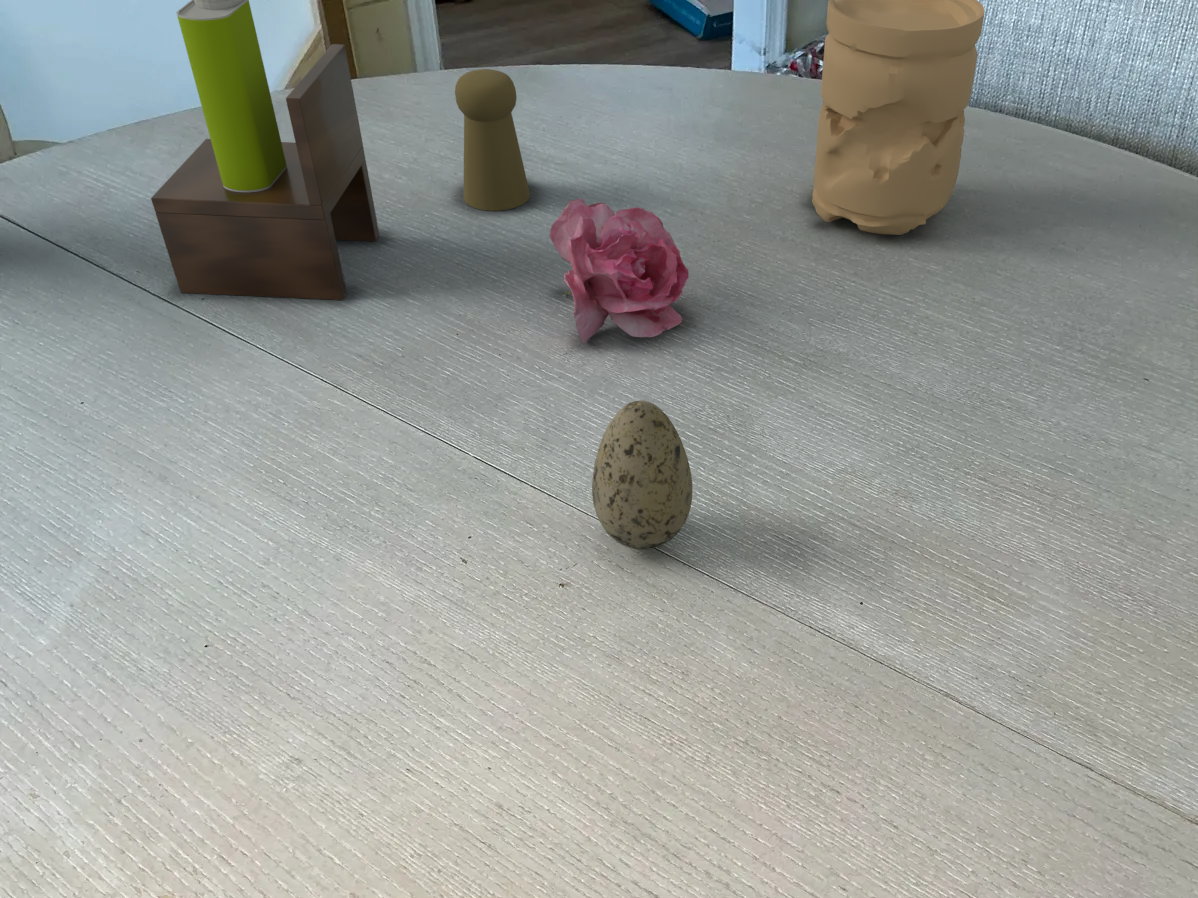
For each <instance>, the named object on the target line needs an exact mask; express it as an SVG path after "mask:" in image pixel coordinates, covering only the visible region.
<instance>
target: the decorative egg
mask: <svg viewBox="0 0 1198 898" xmlns="http://www.w3.org/2000/svg"><path fill="white" fill-rule="evenodd" d="M691 471H692V470H691V466H690V462H689V459H688V456H687V452H686V449H685V447H684V444H683V442H682V439H681V436H680V435H679V432H678V431H677V428H676V427H675V425H674V424H673V422H672V421H671V419H670V418H669V416H668V415H667V414H666V413H665V412H664V410H663V409H661V408H660V407H659V406H658V405H656V404H655V403H652V402H650V401H647V400H634V401H632V402H629V403H627V404H626V405H624V406H623V407H621V408H620V409H619V410H618V411H617V413H616V414H615V415H614V416H613V418H612V419H611V421H610V422H609V424H608V425H607V427H606V429H605V431H604V433H603V435H602V438H601V441H600V444H599V447H598V449H597V452H596V456H595V461H594V466H593V471H592V480H591V481H592V482H591V493H592V494H591V495H592V502H593V507H594V511H595V514H596V517H597V519H598V522H599V523H600V526H601V527H602V528H603V530H604V531H605V532H606V533H607V534H608V536H610V537H611V538H612V539H613V540H615V541H616V542H617V543H619V544H620V545H622V546H625V547H627V548H630V549H633V550H652V549H656V548H659V547H662V546H663V545H665V544H667V543H668V542H670V541H671V540H672V539H674V537H676V536H677V535H678V534H679V533H680V531H681V530H682V528H683V527H684V525H685V524H686V522H687V520H688V518H689V515H690V512H691V508H692V504H693V503H692V502H693V479H692V478H693V477H692V472H691Z"/></svg>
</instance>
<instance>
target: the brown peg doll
mask: <svg viewBox="0 0 1198 898" xmlns="http://www.w3.org/2000/svg"><path fill="white" fill-rule="evenodd" d="M454 95H455V103H456V105H457V108H458V109H459V111H460V112H461V113H462V114H463V201H464V202H465V204H467V205H468V206H470V207H472V208H473V209H476V210H477V209H478V210H481V211H491V212H498V211H506V210H511V209H515V208H518V207H520V206H522V205H524V204H525V203H527V202H528V201H529V200H530V197H531V191H530V188H529V184H528V179H527V175H526V170H525V166H524V161H523V158H522V152H521V149H520V144H519V140H518V136H517V131H516V127H515V122H514V118H513V114H512V112H513V110H514V109H515V107H516V103H517V90H516V87H515V84H514V81H513V80H512V78H511V76H509V75H508V74H507V73H505V72H504V71H503V72H502V71H500V70H497V69H491V68H490V69H489V68H480V69H479V68H478V69H475V70H469V71H467V72H465V73H464V74H462V75H461V76H459V78H458V79H457V81H456V83H455V87H454Z"/></svg>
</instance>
